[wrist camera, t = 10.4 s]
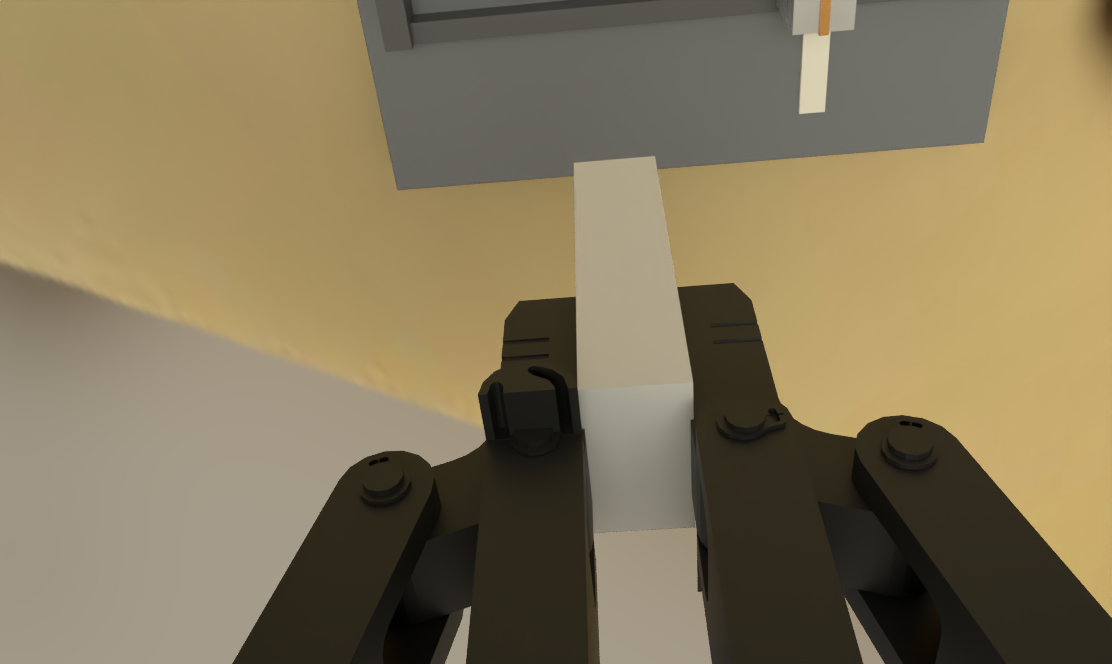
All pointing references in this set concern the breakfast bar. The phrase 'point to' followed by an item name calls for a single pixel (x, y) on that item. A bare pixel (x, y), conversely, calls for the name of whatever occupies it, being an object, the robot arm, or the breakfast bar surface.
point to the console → (668, 83)
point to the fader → (818, 15)
